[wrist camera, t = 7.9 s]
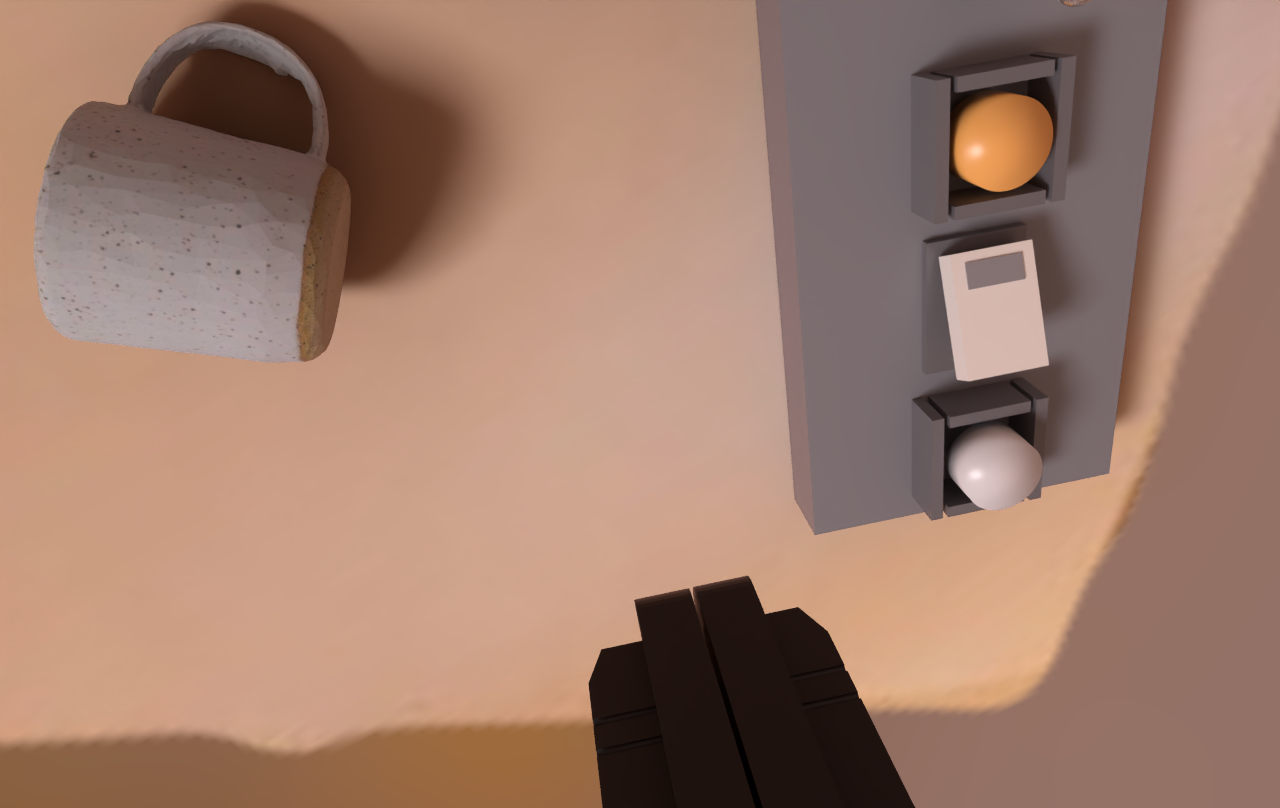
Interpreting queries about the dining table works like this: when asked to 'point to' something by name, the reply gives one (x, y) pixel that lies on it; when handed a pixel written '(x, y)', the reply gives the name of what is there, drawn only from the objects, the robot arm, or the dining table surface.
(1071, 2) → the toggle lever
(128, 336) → the ceramic mug
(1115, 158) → the control panel
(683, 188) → the dining table surface
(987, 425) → the grey button
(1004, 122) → the orange button
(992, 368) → the rocker switch
